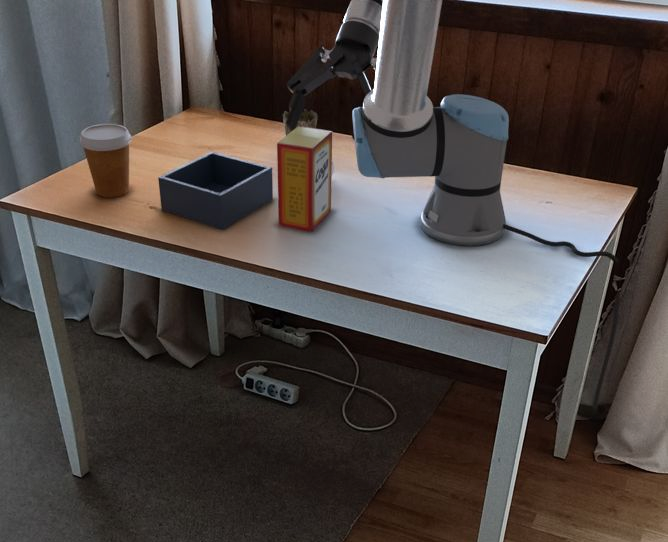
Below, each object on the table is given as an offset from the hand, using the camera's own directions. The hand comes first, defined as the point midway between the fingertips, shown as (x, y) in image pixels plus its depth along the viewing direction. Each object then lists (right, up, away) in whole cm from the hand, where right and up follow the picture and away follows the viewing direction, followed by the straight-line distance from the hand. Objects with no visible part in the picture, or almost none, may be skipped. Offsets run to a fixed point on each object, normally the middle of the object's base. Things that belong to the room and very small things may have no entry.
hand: (322, 134), depth 155 cm
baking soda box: (-3, -15, +3) cm, 16 cm away
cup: (-5, +4, +32) cm, 32 cm away
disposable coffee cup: (-41, -8, +12) cm, 44 cm away
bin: (-20, -12, +7) cm, 24 cm away
